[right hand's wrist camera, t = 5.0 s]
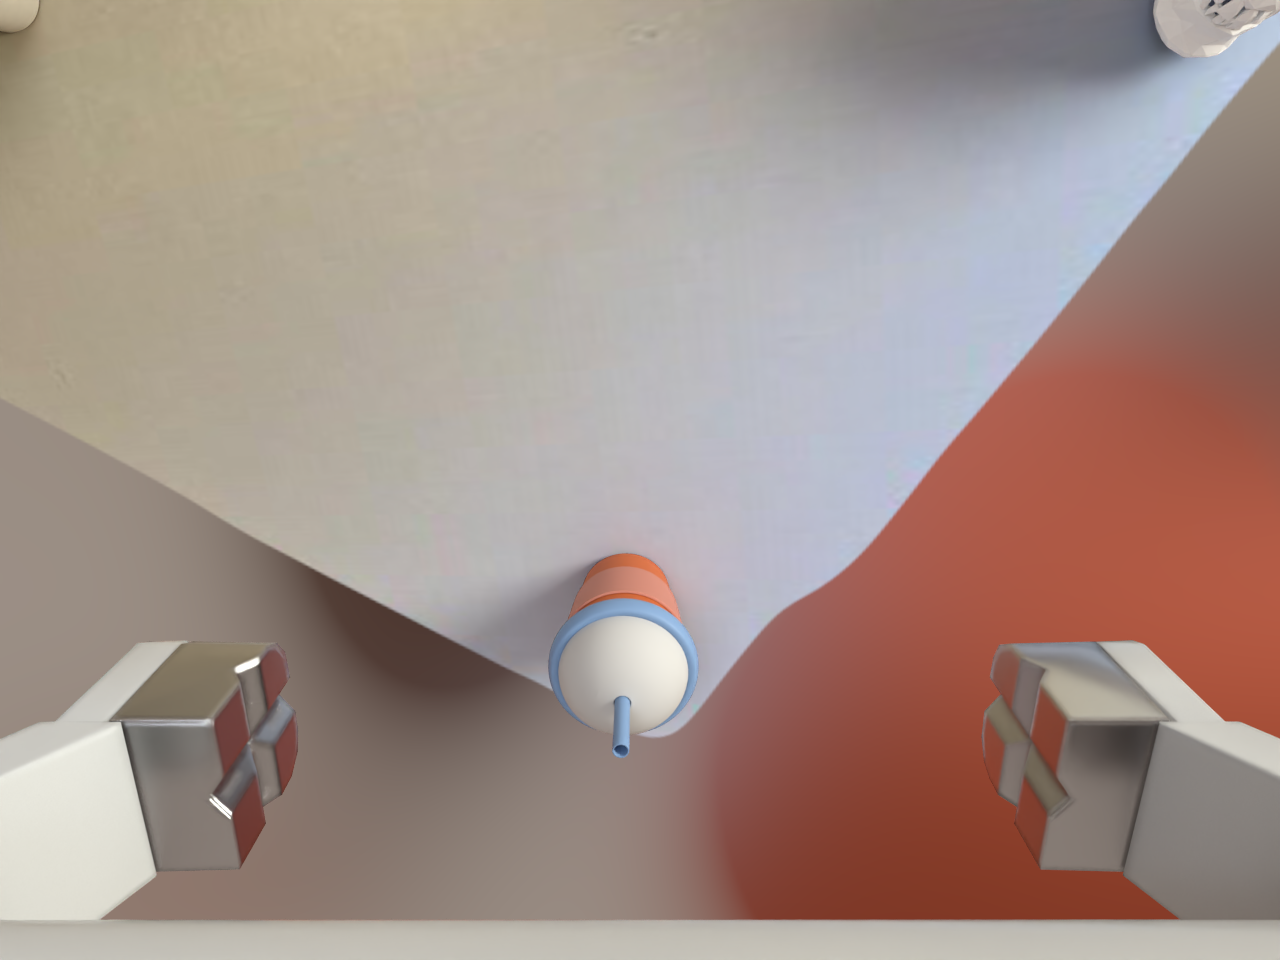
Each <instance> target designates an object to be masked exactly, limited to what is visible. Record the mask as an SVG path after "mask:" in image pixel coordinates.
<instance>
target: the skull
mask: <svg viewBox="0 0 1280 960" xmlns="http://www.w3.org/2000/svg"><path fill="white" fill-rule="evenodd" d="M1223 1H1225V0H1214V2H1215V4H1214V5H1213V6H1212V7H1210V6H1209V3H1210V2H1211V0H1155V2H1154V8H1153V15H1154V19H1155V24H1156V29H1157V31H1158V33H1159V35H1160V37H1161V39H1162V41H1163V42H1164V43H1165V45H1166V46H1167V47H1168V48H1169V49H1171V50H1173V51H1174V52H1176V53H1177V54H1179V55H1180V56H1182V57H1183V58H1187V57H1210V56H1214V55H1218V54H1220V53H1221V52H1223V51H1224V50H1225V49H1227V48H1228V47H1229V46H1230V45H1231V44H1232V43H1233V42H1234V41H1235V40H1236V38H1237V37H1238V36H1239V35H1241V34H1243V33H1245V32H1246V31H1248V30H1250V29H1252V28H1254V27H1256V26H1257V25H1259V24H1260V23H1261V22H1262V21H1263V20H1265V19H1267V18H1269V17H1271V16H1273V15H1275V14H1276V13H1278V12H1279V11H1280V0H1232V1H1230V2H1228V3H1227V4H1225V5H1224V6H1222V5H1223V4H1221V3H1222V2H1223ZM1221 6H1222V7H1221ZM1243 6H1245V9H1244V10H1242V11H1240V10H1241V9H1242V8H1243ZM1214 12H1217V13H1218V15H1215V14H1214Z"/></svg>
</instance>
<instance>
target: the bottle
mask: <svg viewBox="0 0 1280 960" xmlns="http://www.w3.org/2000/svg"><path fill="white" fill-rule="evenodd" d="M38 9H39V0H0V31H2V32H18V31H21V30H23V29H25V28H26V27H28V26H29V25H30V24H31V23H32V22H33V20H34V19H35V17H36V15H37V12H38Z"/></svg>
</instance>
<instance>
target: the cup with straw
mask: <svg viewBox="0 0 1280 960" xmlns="http://www.w3.org/2000/svg"><path fill="white" fill-rule="evenodd" d="M548 669H549V678H550V682H551V686H552V689H553V691H554V693H555V695H556V697H557V699H558V701H559V702H560V704H561V705H562V706H563V708H564V709H565V710H566V711H567V712H568V713H569V714H570V715H571V716H572V717H574V718H575V719H576V720H578V721H579V722H581V723H582V724H584V725H586V726H588V727H590V728H592V729H595V730H598V731H601V732H604V733H607V734H612V735H613V748H612V751H613V754H614V755H615V756H616V757H619V758H623V757H626V756H627V755H628V754H629V738H630V735H635V734H639V733H643V732H646V731H650V730H652V729H655V728H657V727H659V726H662V725H663V724H665V723H667V722H668V721H670V720H671V719H672V718H674V717H675V716H676V715H677V714H678V713H679V712H680V711H681V710H682V709H683V708H684V707H685V705H686V704H687V703H688V701H689V699H690V698H691V696H692V694H693V691H694V689H695V686H696V682H697V678H698V655H697V651H696V647H695V645H694V642H693V640H692V638H691V636H690V634H689V633H688V631H687V629H686V628H685V627H684V626H683V624H682V621H681V618H680V614H679V611H678V607H677V604H676V600H675V598H674V595H673V593H672V592H671V590H670V588H669V585H668V582H667V579H666V577H665V575H664V574H663V572H662V571H661V569H660V568H659V567H658V566H657V565H656V564H654V563H653V562H652V561H650V560H649V559H647V558H645V557H642V556H639V555H635V554H616V555H612V556H609V557H607V558H605V559H603V560H601V561H600V562H598V563H597V564H596V565H595V566H594V567H593V568H592V569H591V570H590V571H589V573H588V574H587V576H586V578H585V581H584V583H583V586H582V587H581V589H580V590H579V592H578V594H577V596H576V598H575V601H574V604H573V606H572V609H571V612H570V615H569V618H568V621H567V622H566V623H565V624H564V625H563V626H562V628H561V629H560V631H559V632H558V633H557V635H556V637H555V639H554V641H553V644H552V647H551V650H550V655H549V663H548Z"/></svg>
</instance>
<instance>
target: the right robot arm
mask: <svg viewBox="0 0 1280 960" xmlns="http://www.w3.org/2000/svg"><path fill="white" fill-rule="evenodd" d="M289 678H290V675H289V670H288V664H287V659H286V654H285V651H284V650H283V649H282V648H281V647H280V646H279V645H278V644H277V643H247V642H195V641H193V642H188V641H149V642H143V643H137V644H136V645H135V646H134V647H133V648H132V649H131V650H130V651H129V652H127V653H126V654H125V655H124V656H123V657H122V658H121V659H120V660H119V661H118V662H117V663H116V664H115V665H114V666H113V667H112V668H111V669H110V670H109V671H108V672H107V673H105V674H104V675H103V676H102V677H101V678H100V679H99V680H98V681H97V682H96V683H95V684H94V685H93V686H92V687H91V688H90V689H89V690H88V691H87V692H86V693H85V694H83V695H82V696H81V697H80V698H79V699H78V700H77V701H76V702H75V703H74V704H73V705H72V706H71V707H70V708H69V709H68V710H67V711H66V712H65V713H64V714H62V715H61V716H60V717H59V718H58V719H57V720H56V721H55V722H39V723H36V724H34V725H31V726H29V727H27V728H24V729H22V730H20V731H17V732H15V733H13V734H10V735H8V736H6V737H3V738H1V739H0V960H1280V739H1279V738H1276V737H1274V736H1272V735H1270V734H1267V733H1265V732H1263V731H1260V730H1258V729H1255V728H1253V727H1251V726H1248V725H1246V724H1244V723H1241V722H1225V721H1224V720H1223V719H1222V718H1221V717H1220V716H1219V715H1218V714H1217V713H1215V712H1214V711H1213V710H1212V709H1211V708H1210V707H1209V706H1208V705H1207V704H1206V703H1205V702H1204V701H1203V700H1202V699H1201V698H1200V697H1199V696H1198V695H1197V694H1196V693H1195V692H1194V691H1192V690H1191V689H1190V688H1189V687H1188V686H1187V685H1186V684H1185V683H1184V682H1183V681H1182V680H1181V679H1180V678H1179V677H1178V676H1177V675H1176V674H1175V673H1174V672H1173V671H1172V670H1171V669H1170V668H1168V667H1167V666H1166V665H1165V664H1164V663H1163V662H1162V661H1161V660H1160V659H1159V658H1158V657H1157V656H1156V655H1155V654H1154V653H1153V652H1152V651H1151V650H1150V649H1149V648H1148V647H1147V646H1146V645H1144V644H1142V643H1139V642H1136V641H1133V640H1130V641H1105V642H1062V643H1022V644H1004V645H999V647H998V649H997V651H996V653H995V655H994V657H993V663H992V668H991V675H990V678H991V680H992V681H993V683H994V684H995V686H996V687H997V689H998V690H999V692H1000V693H1001V695H1000V696H999V697H998V698H997V699H996V700H995V701H994V702H993V703H992V704H991V705H990V706H989V707H988V708H987V709H986V710H985V712H984V721H983V729H982V746H983V756H984V763H985V766H986V769H987V772H988V775H989V778H990V780H991V782H992V784H993V786H994V788H995V790H996V792H997V793H998V795H999V796H1001V797H1003V798H1004V799H1006V800H1007V801H1009V802H1010V803H1012V804H1013V805H1015V806H1016V807H1017V810H1016V816H1015V822H1014V824H1015V826H1016V827H1017V829H1018V831H1019V833H1020V834H1021V836H1022V838H1023V840H1024V841H1025V843H1026V845H1027V847H1028V848H1029V850H1030V852H1031V853H1032V855H1033V857H1034V859H1035V861H1036V862H1037V864H1038V866H1039V868H1040V869H1048V870H1083V871H1120V872H1124V873H1123V876H1125V877H1126V878H1127V879H1128V880H1130V881H1131V882H1133V883H1134V884H1135V885H1136V886H1138V887H1139V888H1140V889H1141V890H1143V891H1144V892H1145V893H1147V894H1148V895H1149V896H1151V897H1152V898H1153V899H1154V900H1156V901H1157V902H1158V903H1160V904H1161V905H1162V906H1164V907H1165V908H1166V909H1167V910H1169V911H1170V912H1171V913H1173V914H1174V915H1175V916H1177V917H1178V918H1179V919H1180V920H100V919H101V918H102V917H104V916H105V915H106V914H108V913H109V912H110V911H112V910H113V909H114V908H115V907H117V906H118V905H119V904H121V903H122V902H123V901H125V900H126V899H127V898H128V897H130V896H131V895H132V894H134V893H135V892H136V891H138V890H139V889H140V888H141V887H143V886H144V885H145V884H147V883H148V882H149V881H151V880H152V879H153V878H155V877H156V876H157V873H156V872H160V871H195V870H230V869H240V868H241V866H242V864H243V862H244V861H245V859H246V857H247V855H248V854H249V852H250V850H251V848H252V847H253V845H254V843H255V841H256V840H257V838H258V836H259V834H260V833H261V831H262V829H263V827H264V826H265V824H266V822H265V816H264V810H263V807H264V806H265V805H267V804H268V803H270V802H271V801H273V800H274V799H276V798H277V797H279V796H281V795H282V793H283V792H284V790H285V788H286V786H287V784H288V782H289V780H290V778H291V776H292V772H293V768H294V764H295V760H296V756H297V752H298V726H297V720H296V712H295V710H294V709H293V708H292V707H291V706H290V705H289V704H288V703H287V702H286V701H285V700H284V699H283V698H282V697H281V696H280V695H279V693H280V692H281V690H282V689H283V687H284V686H285V684H286V683H287V681H288V680H289Z"/></svg>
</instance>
